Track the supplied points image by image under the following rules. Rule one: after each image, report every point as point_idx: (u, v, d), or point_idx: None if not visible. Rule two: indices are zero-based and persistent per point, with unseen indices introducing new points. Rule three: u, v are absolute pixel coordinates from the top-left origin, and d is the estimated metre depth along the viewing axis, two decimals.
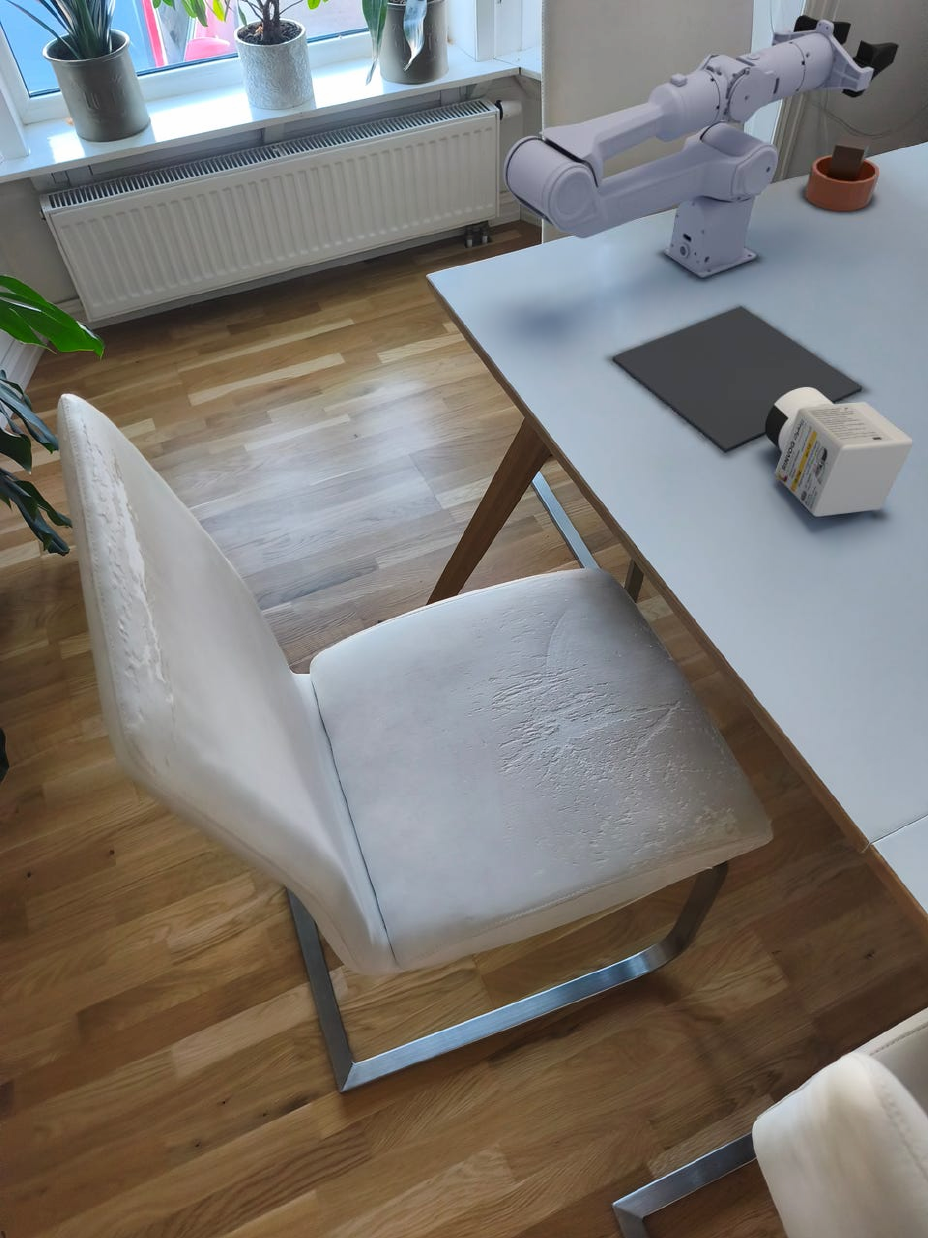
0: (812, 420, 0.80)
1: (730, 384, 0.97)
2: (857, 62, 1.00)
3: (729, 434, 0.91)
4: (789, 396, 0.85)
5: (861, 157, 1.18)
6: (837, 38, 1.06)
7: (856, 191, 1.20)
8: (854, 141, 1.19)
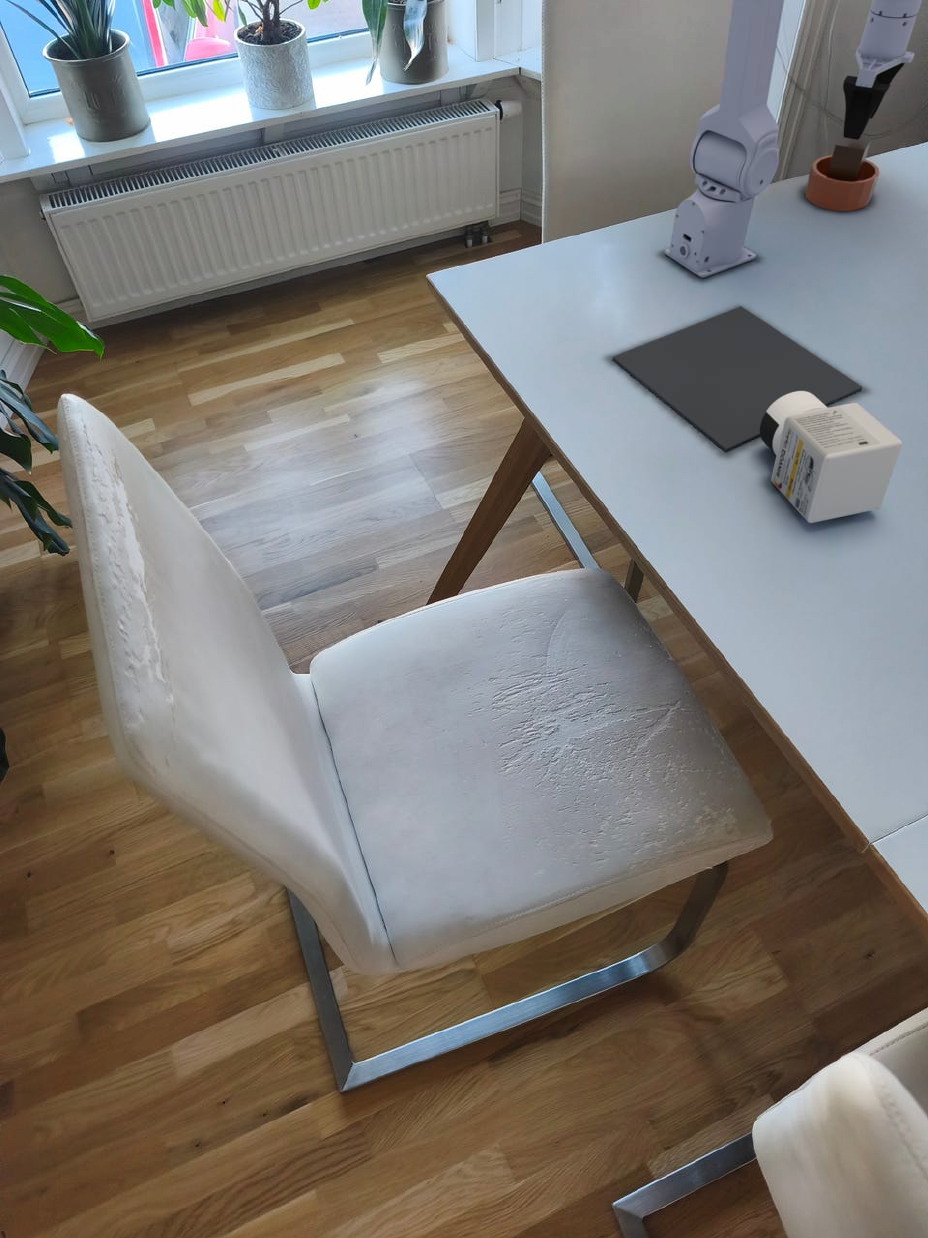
0: (798, 429, 0.80)
1: (730, 384, 0.97)
2: (874, 80, 1.09)
3: (729, 434, 0.91)
4: (780, 402, 0.86)
5: (861, 157, 1.18)
6: None
7: (856, 191, 1.20)
8: (854, 141, 1.19)
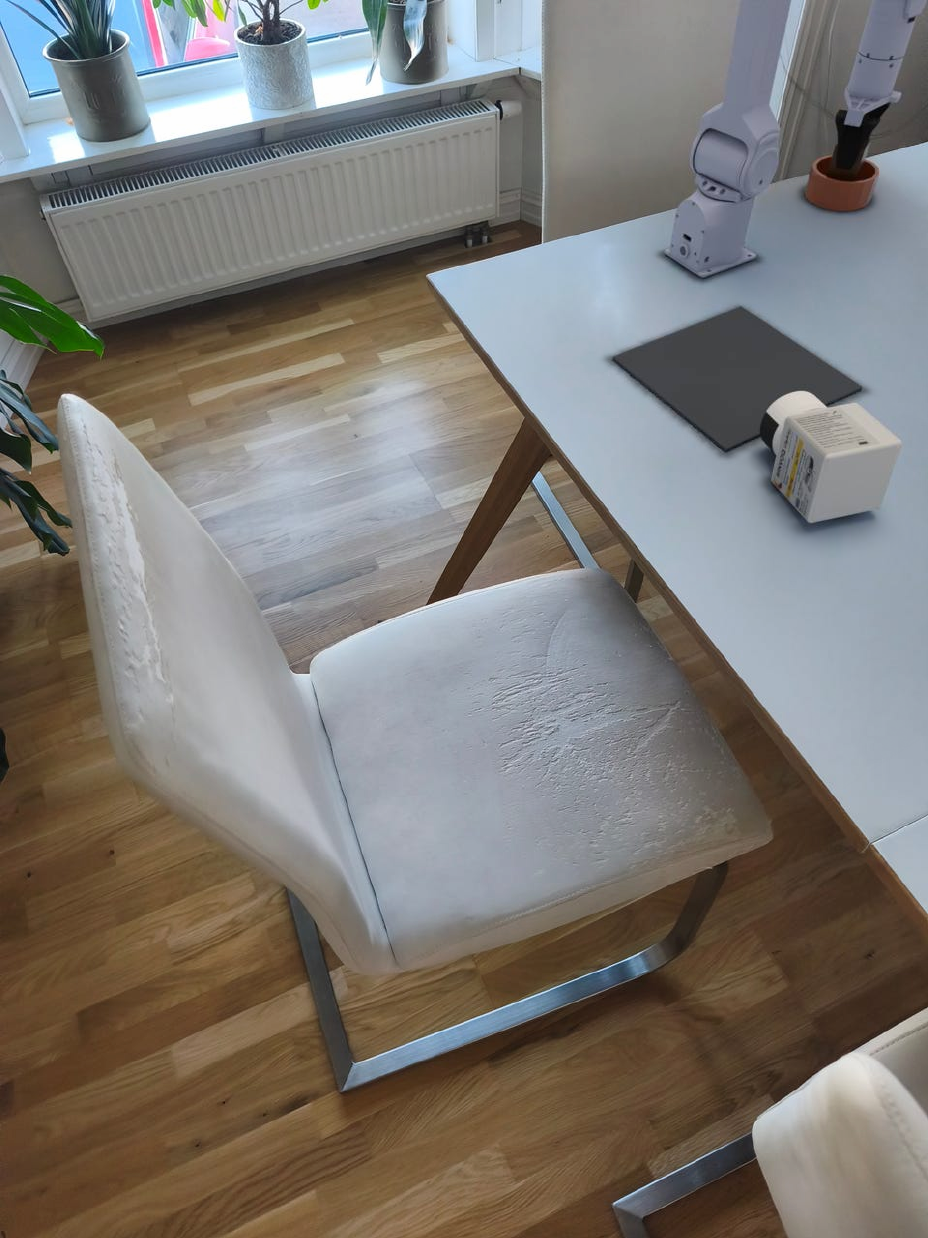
0: (798, 429, 0.80)
1: (730, 384, 0.97)
2: (865, 115, 1.14)
3: (729, 434, 0.91)
4: (780, 402, 0.86)
5: (861, 157, 1.18)
6: None
7: (856, 191, 1.20)
8: None
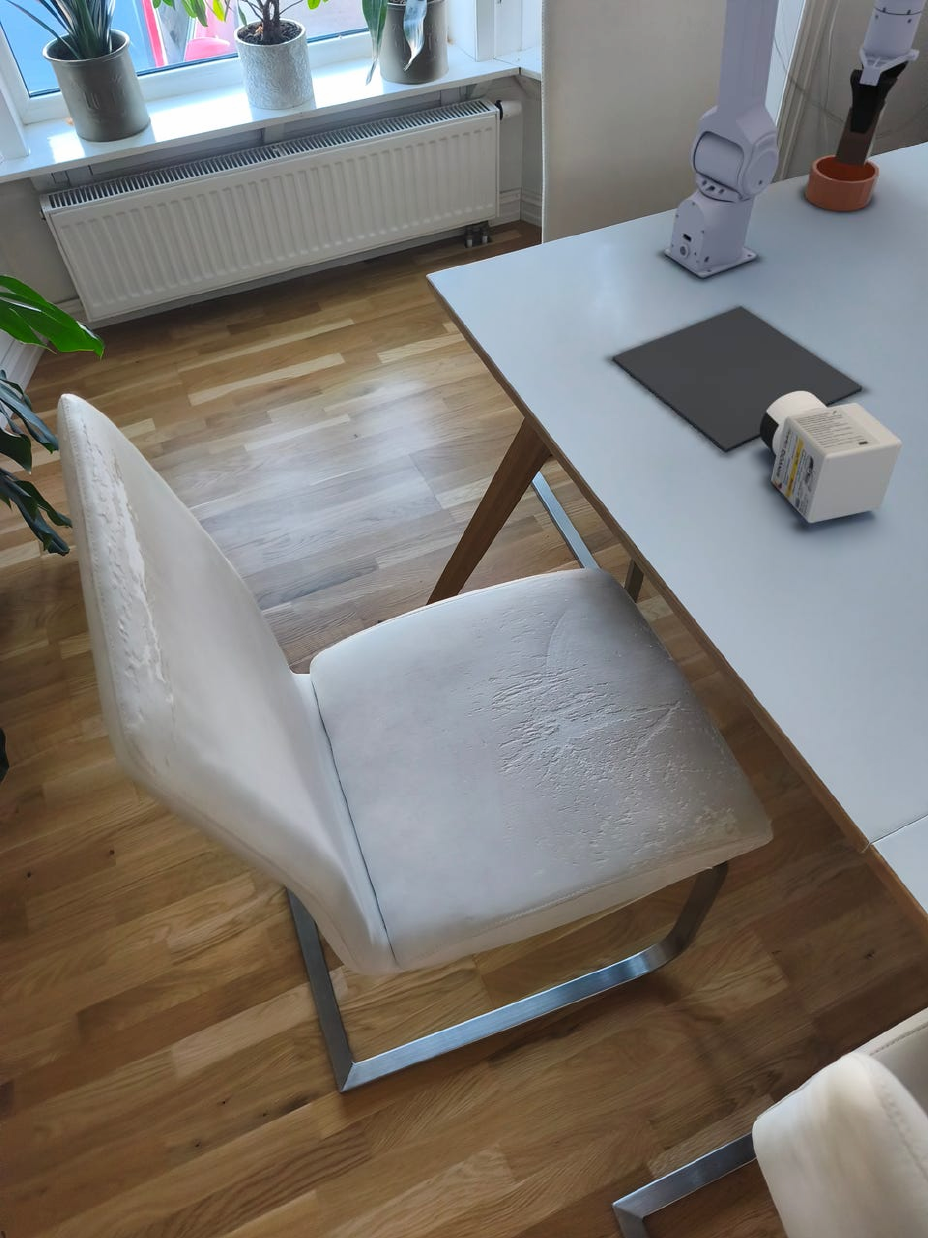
0: (798, 429, 0.80)
1: (730, 384, 0.97)
2: (881, 74, 1.08)
3: (729, 434, 0.91)
4: (780, 402, 0.86)
5: (876, 120, 1.13)
6: None
7: (856, 191, 1.20)
8: None
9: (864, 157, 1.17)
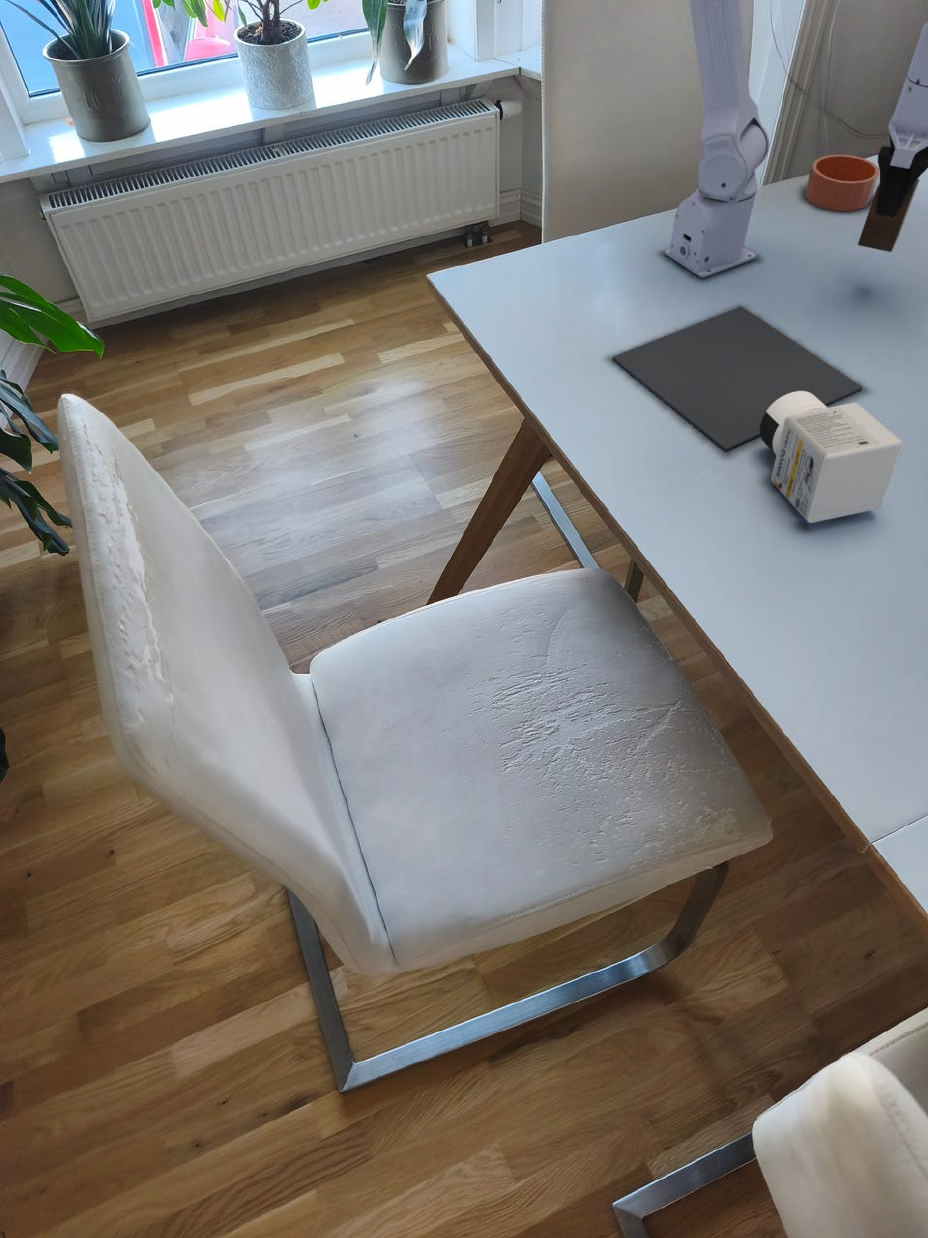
0: (798, 429, 0.80)
1: (730, 384, 0.97)
2: (915, 153, 0.94)
3: (729, 434, 0.91)
4: (780, 402, 0.86)
5: (908, 202, 0.98)
6: None
7: (856, 191, 1.20)
8: None
9: (893, 242, 1.02)
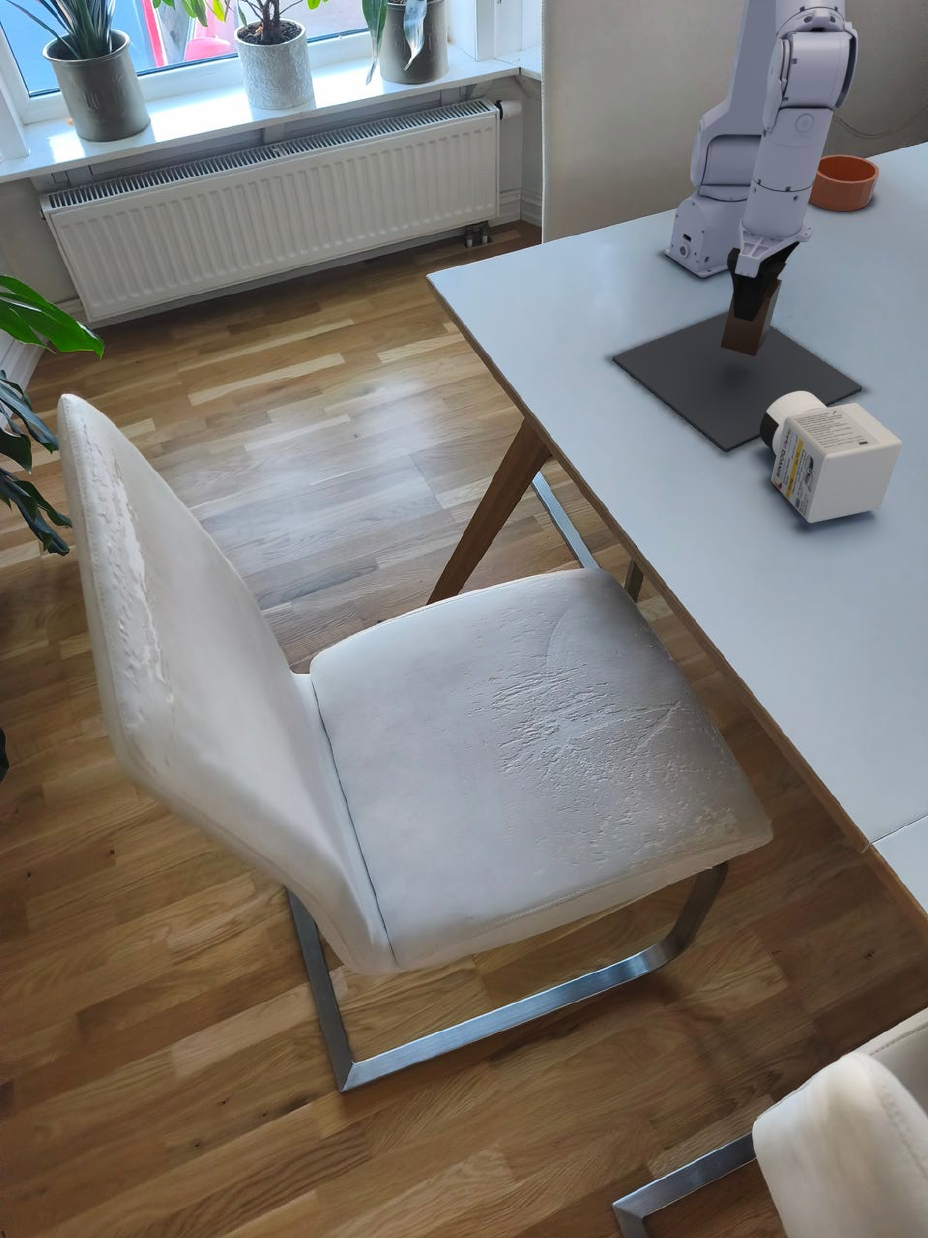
0: (798, 429, 0.80)
1: (730, 384, 0.97)
2: (765, 258, 0.84)
3: (729, 434, 0.91)
4: (780, 402, 0.86)
5: (767, 306, 0.89)
6: None
7: (856, 191, 1.20)
8: None
9: (756, 346, 0.93)
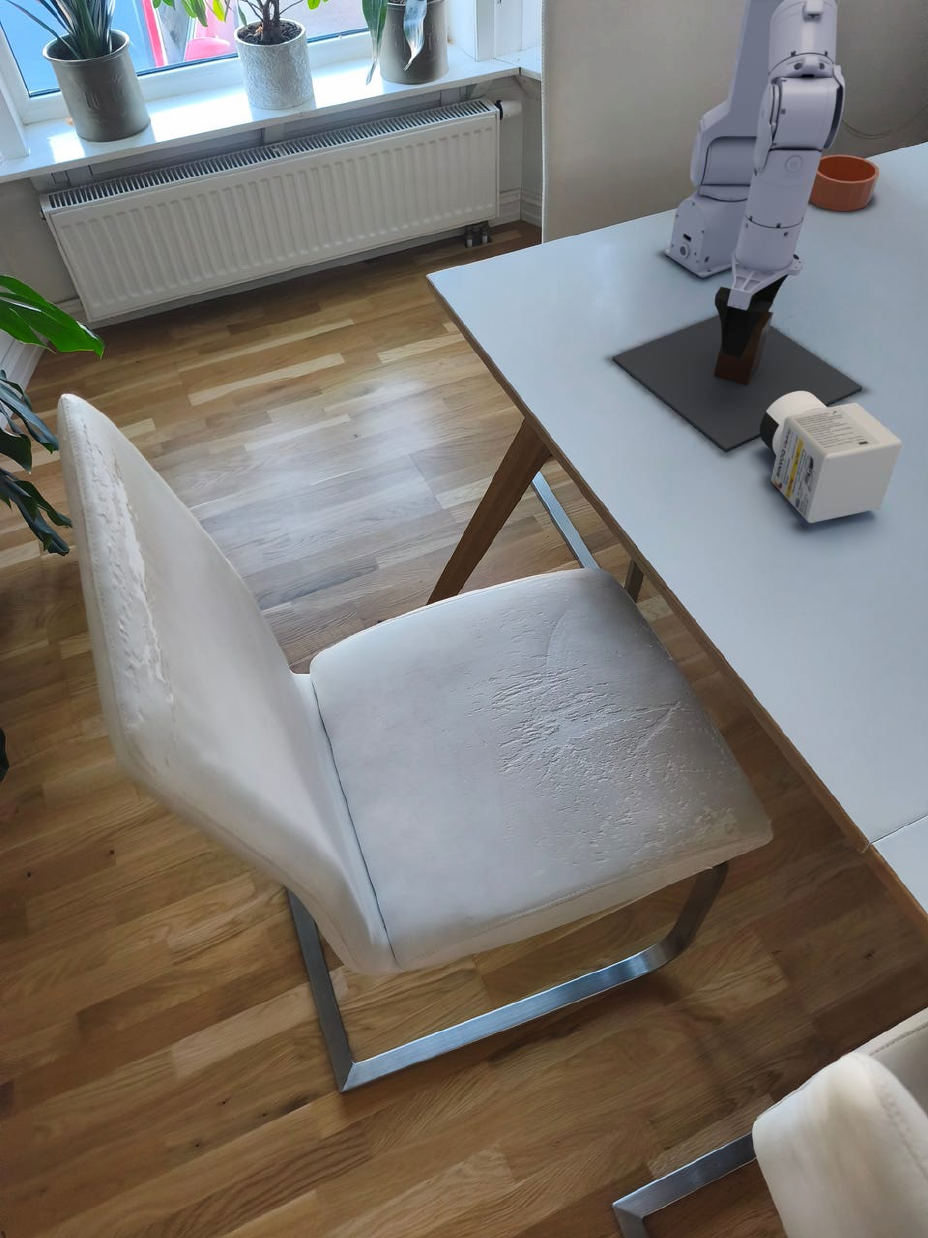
0: (798, 429, 0.80)
1: (730, 384, 0.97)
2: (752, 297, 0.86)
3: (729, 434, 0.91)
4: (780, 402, 0.86)
5: (758, 339, 0.92)
6: None
7: (856, 191, 1.20)
8: None
9: (748, 376, 0.96)
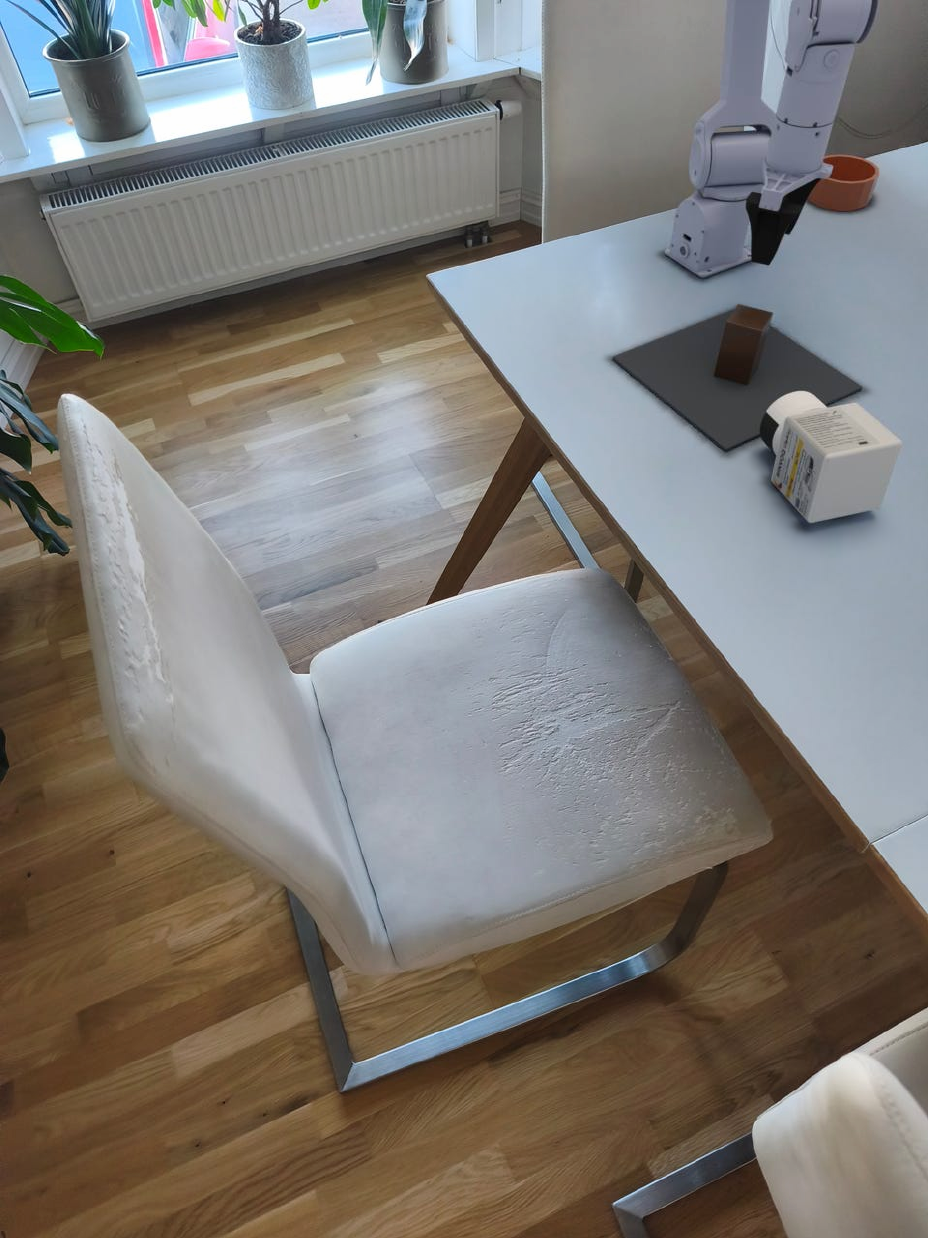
0: (798, 429, 0.80)
1: (730, 384, 0.97)
2: (783, 200, 0.88)
3: (729, 434, 0.91)
4: (780, 402, 0.86)
5: (758, 339, 0.92)
6: None
7: (856, 191, 1.20)
8: (751, 316, 0.93)
9: (748, 376, 0.96)
